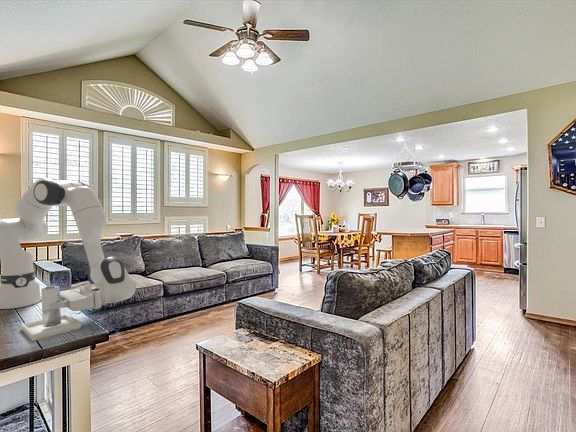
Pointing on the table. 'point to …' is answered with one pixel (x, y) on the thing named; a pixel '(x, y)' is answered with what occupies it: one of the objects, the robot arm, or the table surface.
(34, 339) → the cream tray
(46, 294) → the metal cup with balls
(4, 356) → the table surface
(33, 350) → the table surface
